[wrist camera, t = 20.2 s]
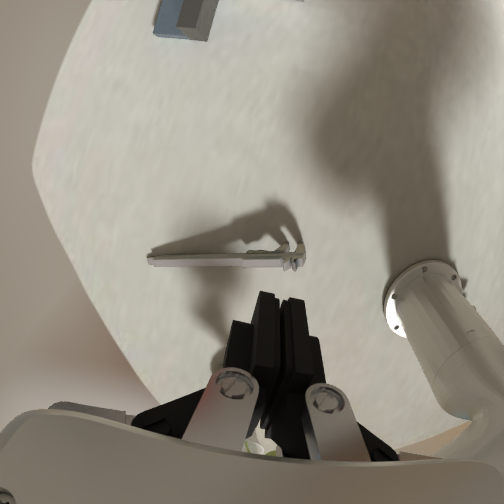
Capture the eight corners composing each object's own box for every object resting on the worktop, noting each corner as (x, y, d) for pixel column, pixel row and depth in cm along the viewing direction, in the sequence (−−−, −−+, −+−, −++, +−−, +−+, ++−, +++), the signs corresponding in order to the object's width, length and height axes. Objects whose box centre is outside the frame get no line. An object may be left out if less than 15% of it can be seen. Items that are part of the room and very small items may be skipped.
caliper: (303, 239, 40) (308, 261, 34) (303, 247, 40) (309, 270, 34) (147, 256, 42) (129, 278, 36) (149, 263, 42) (132, 286, 37)
